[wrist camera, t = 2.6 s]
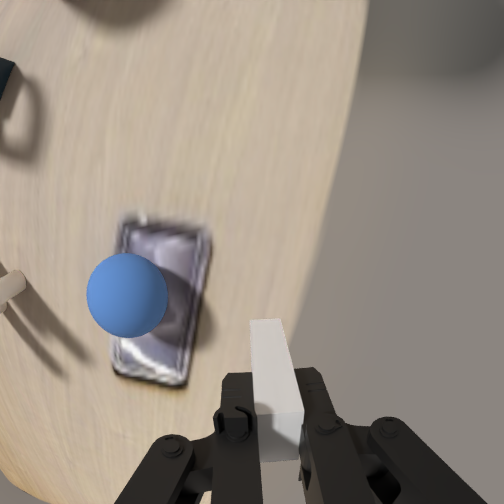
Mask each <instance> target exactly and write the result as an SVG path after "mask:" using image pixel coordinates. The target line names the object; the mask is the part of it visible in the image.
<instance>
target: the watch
mask: <svg viewBox="0 0 504 504" xmlns="http://www.w3.org/2000/svg"><path fill="white" fill-rule="evenodd" d="M14 64H15V63H14V62H12V61H9V60H6V59H4V58H1V57H0V99H1V96H2V94H3V91H4V88H5V86H6V83H7V80H8V78H9V75H10V73H11V71H12V68H13V66H14Z"/></svg>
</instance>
